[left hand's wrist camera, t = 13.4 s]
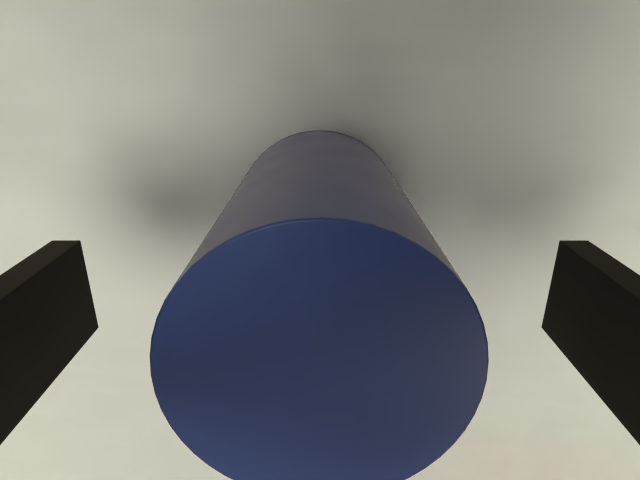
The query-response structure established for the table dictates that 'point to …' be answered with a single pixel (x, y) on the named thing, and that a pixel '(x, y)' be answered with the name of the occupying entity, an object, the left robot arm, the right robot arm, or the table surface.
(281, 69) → the table surface
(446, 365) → the canister
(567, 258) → the left robot arm
